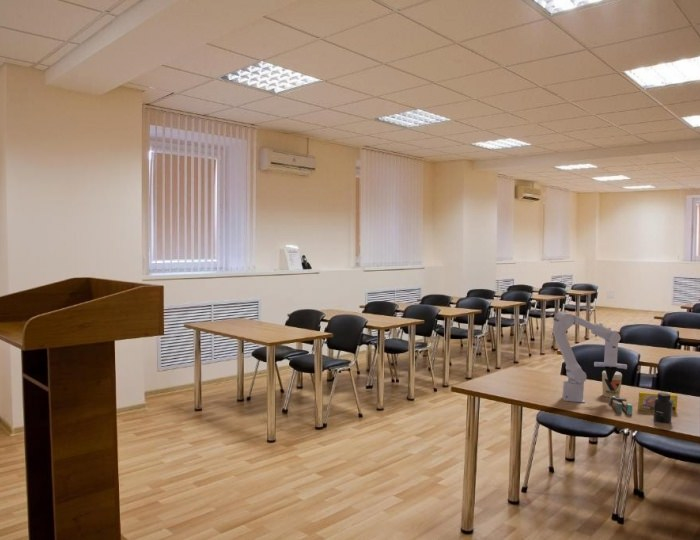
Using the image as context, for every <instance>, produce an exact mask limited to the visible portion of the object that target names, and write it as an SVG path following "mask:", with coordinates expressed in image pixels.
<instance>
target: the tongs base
mask: <svg viewBox="0 0 700 540" xmlns="http://www.w3.org/2000/svg"><path fill="white" fill-rule="evenodd" d="M613 400H615V401H618V402H620V403H622V411H624V412H625V414H626V413H627V414H628V415H629V416H632V415H633V404H632V403H628V401H627V398H624V397H618V398H617V397H616V396H611V397H609V402H608V403H609V405H610V406H612V401H613ZM627 414H626V415H627Z"/></svg>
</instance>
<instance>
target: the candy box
mask: <svg viewBox="0 0 700 540" xmlns="http://www.w3.org/2000/svg"><path fill="white" fill-rule="evenodd" d="M658 393H659V392H658ZM658 393H657V392H645V391H642V392H641V391H639V392H638V404H637V410H638V411H648V410H649V411H650V412H654V403H655V400H656V399H658V397H657V396H658ZM668 394H669V395H670V401H671V402H672V413H677V409H678V408H677V407H678V395H677V394H674V393H673V394H672V393H671V394H670V393H668ZM649 411H648V412H649Z"/></svg>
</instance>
